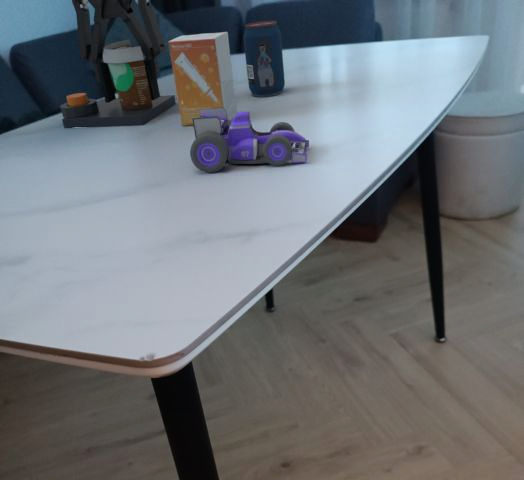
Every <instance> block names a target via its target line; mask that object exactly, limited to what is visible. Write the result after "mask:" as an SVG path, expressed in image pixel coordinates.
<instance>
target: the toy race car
mask: <svg viewBox="0 0 524 480" xmlns="http://www.w3.org/2000/svg"><path fill="white" fill-rule="evenodd" d="M192 120H193V125H192V126H193V132H194V137H195V139H194V141H193V142H192V143H191V146H190V149H189V155H190V159H191V162H192V164H193V165H194V166H195V168H197V169H198V170H200V171H201V172H204V173H208V174H213V173H217V172H218V171H220V170H222V169H223V167H224V166H225V165H226V163H227V164H231V165H232V164H234V165H256V164H257V165H259V164H269V165H272V166H274V167H281V166H284V165H287V163H288V162H289V161H290V159H291V164H295V163H296V164H297V163H298V164H299V163H307V157H308V155H307V154H306V149H308V148H310V139H306V138H305V137H304V136H303V135H301V134H299V133H298V132H296V130H295V129H294V127H293V126H292V125H291V124H290V123H288V122H284V121H280V122H279V121H278V122H276V123H274V124H273V125H272V127H270V130H269V132H268V131H266V132H265V131H264V132H263V131H257V130H256V129H254V128H253V125H252V120H251V114H250V111H248V110H247V111H239V112H237V114H236V115H235V116H234V118H233V119H232V120H231V121H230V120H228V119H227V112H226V110H225V109H224V108H210V109H200V118H192ZM293 146H294V149H298V152H295V151H293Z"/></svg>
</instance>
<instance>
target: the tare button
mask: <svg viewBox="0 0 524 480" xmlns="http://www.w3.org/2000/svg"><path fill="white" fill-rule="evenodd" d="M65 99H66V103H67V102H68V105H69V106H79V105H83V104H87V103H88V99H89V98H88V96H87V93H86V92H78V93H72V94H68V95H66V98H65Z"/></svg>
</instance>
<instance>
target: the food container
mask: <svg viewBox="0 0 524 480" xmlns="http://www.w3.org/2000/svg"><path fill="white" fill-rule="evenodd" d="M103 49H104V51H103V60H102V62H105V63H108V66H109V71H110V75H111V79H112V82H113V86H114V89H115V90H116V94H117V98H119V100H120V103H121V107H122V108H124V109H142V108H149V107H153V105H152V100H151V95H150V90H149V86H148V81H147V76H146V71H145V66H144V60H145V58H144V53H143V51H142V50H141V47H140V46H139V45H138V46H135V45H132V43H131V39H125V40H120V41H116V42H113V43H110V44H106V45H104V48H103Z"/></svg>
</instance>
